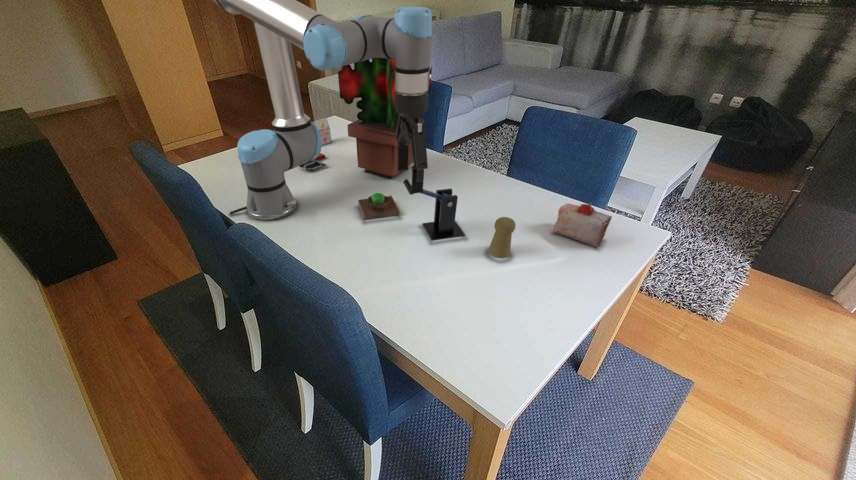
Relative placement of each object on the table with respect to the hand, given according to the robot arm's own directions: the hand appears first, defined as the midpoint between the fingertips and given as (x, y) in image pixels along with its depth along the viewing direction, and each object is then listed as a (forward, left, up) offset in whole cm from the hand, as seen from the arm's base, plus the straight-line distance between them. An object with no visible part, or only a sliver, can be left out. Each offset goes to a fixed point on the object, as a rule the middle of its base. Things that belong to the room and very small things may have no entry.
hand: (409, 180), depth 100 cm
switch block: (-5, +16, -18) cm, 25 cm away
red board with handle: (-27, +66, -18) cm, 74 cm away
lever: (+5, 0, -6) cm, 8 cm away
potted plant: (+5, +47, -18) cm, 51 cm away
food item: (+48, -11, -18) cm, 52 cm away
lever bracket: (+11, 0, -18) cm, 21 cm away
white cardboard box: (-16, +80, -18) cm, 84 cm away
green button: (-5, +16, -14) cm, 22 cm away
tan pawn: (+22, -14, -18) cm, 32 cm away
